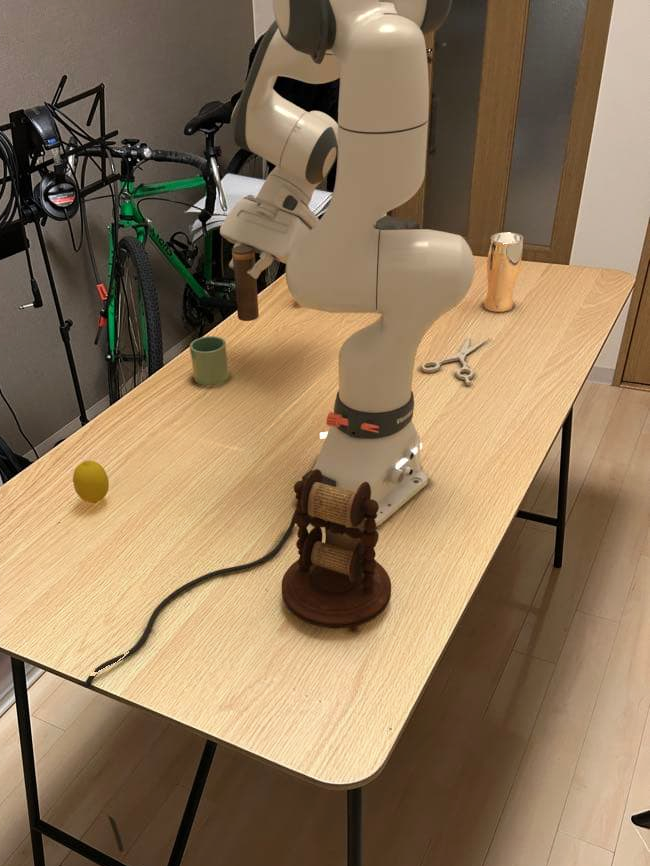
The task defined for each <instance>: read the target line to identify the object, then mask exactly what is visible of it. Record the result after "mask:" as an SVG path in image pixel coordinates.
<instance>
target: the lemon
mask: <svg viewBox="0 0 650 866" xmlns="http://www.w3.org/2000/svg"><path fill="white" fill-rule="evenodd" d="M72 482H73V488H74V490H75V493H76V495H77V496H78V497H79V499H81V500H82V501H84V502H87V503H94V504H96V503H98V502H100V501H102V500H103V499H104V498H105V497H106V496H107V494H108V491H109V487H110V486H109V484H110V483H109V482H110V481H109V476H108V474H107V472H106V470H105V468H104V466H102V465H101V464H100V463H98V461H94V460H84V461H81V462H80V463H79V464H78V465H76V467H75V468H74V471H73V475H72Z"/></svg>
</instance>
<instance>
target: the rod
mask: <svg viewBox="0 0 650 866" xmlns="http://www.w3.org/2000/svg"><path fill="white" fill-rule="evenodd" d="M233 247H234V246H233ZM233 247H232V249H231V257H232V258H233V266H234V270H233V275H234V276H233V277H234V287H235V299H236V300H235V301H236V308H237V309H236V310H237V318H238V320H239V321H242V322H252V321H255V320H258V318H259V317H260V314H259V312H260V311H259V297H258V285H257V279H255V278H252V277H250V276H249V275H248V274H247V270H248V269H249V267H250V265H254V264H255V263H256V252H255V250H254V247H252V246H249V245H240V246H236V247H234V248H233Z"/></svg>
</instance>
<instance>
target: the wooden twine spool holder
mask: <svg viewBox="0 0 650 866" xmlns="http://www.w3.org/2000/svg"><path fill="white" fill-rule="evenodd" d="M312 470H313V469H312ZM293 492H294V493H295V499H296V501H297V502H296V505H295V510H296V509H297V511H296V513H295V515H294V522H295V525H296V527H297V528H298V530H297V532H296V533H297V534H296V535H297V538H298V539H297V540H296V543H295V545H296V549H298V551H297V554H298V559H297V560H296V561H295V562H293V563H292V564H291V565H289V567H288V568H287V570H285V573H284V574H283V577H282V580H281V597H282V600H283V603H284V606H285V608H286V609H287V610H288V611H289V612H290V613H291V614H292V615H293V616H294V617H296V618H297V619H299V620H300V621H301V622H304V623H306V624H308V625H311V626H314V627H317V628H322V629H328V630H345V629H349V630H350V632H352V633H355V632H356V631H357V629H358V627H360V626H363V625H365V624H367V623H369V622H371V621H373V620H375V619H376V618H378V617H379V616H380V615H381V614H382V613H383V612H384V611H385V610H386V608H387V606H388V605H389V603H390V600H391V596H392V581H391V578H390V575H389V574H388V572H387V570H386V569H385V567H383V566H382V564H380V562H378V561H377V560H376V559H375V558H376V551H375V548H376V545H377V543H378V541H379V538H380V533H379V531H378V530H377V527H378V526H376V522H375V518H377V514H376V513H377V512H378V510H379V505H378V503H377V502H376V501H375V500H373V499H371V488H370V485H369V483H368V482H363V483H362V484H361V485H360V486H359V488H358V490H357V492H353V491H349V490H345V489H341V488H338V487H334V486H330V485H326V484H322V473H321V471H320V470H318V469H315V470H313V471H312V472H311V473H310V474H309V475H308V477H307V478H306V480H305V481H302V480H298V481H296V482H295V483H294V485H293ZM323 519H324V520H323ZM310 525H311V527H312V529H311V530H310V531H309V530H308V527H309V526H310ZM322 528H324V533H325V534H324V535H325V536H324V542H323V529H322Z"/></svg>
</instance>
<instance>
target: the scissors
mask: <svg viewBox="0 0 650 866" xmlns="http://www.w3.org/2000/svg"><path fill="white" fill-rule="evenodd" d="M471 336H472V333H470V334H469V336H468V337H467V339H466V340H465V342H464V343H463V345H462V346H461V349H460V351H458V352H457V353H455V354H453V355H452V356H450V357H447V358H442V359H441V360H434V361H433V360H430V361H426V362H424V363H422V365H421V371H422V372H424V373H435V372H437V371H439V370H440V369H441V367H440V366H442V365H443V364H446V363H451V362H457V361H459V363H460V364H461V365H462V367H461V368H458V369H456V374H455V375H456V377H457V378H458V379H459V380H463V381H464V382H465V386H470V384H471V381H470V380H472V379H473V377H474V374H475V372H474V370H473V369H471V368H470V367H468V363H467V362H465V359H466V358H467V357H466V356H467V355H468V354H470V353H471V352H473V351H475V350H476V349H477V348H478V347H480V346H481V345H483V344H484V343H485V342H486V341H488V340H489V339H490V338H491V336H490V337H487V338H485V339H484V340H481V341H480V342H478V343H476V344H474V345H472V346H470V342H471V341H470V340H471ZM428 366H434V367H431V368H428ZM461 373H469V374H467V375H464V374H461Z"/></svg>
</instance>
